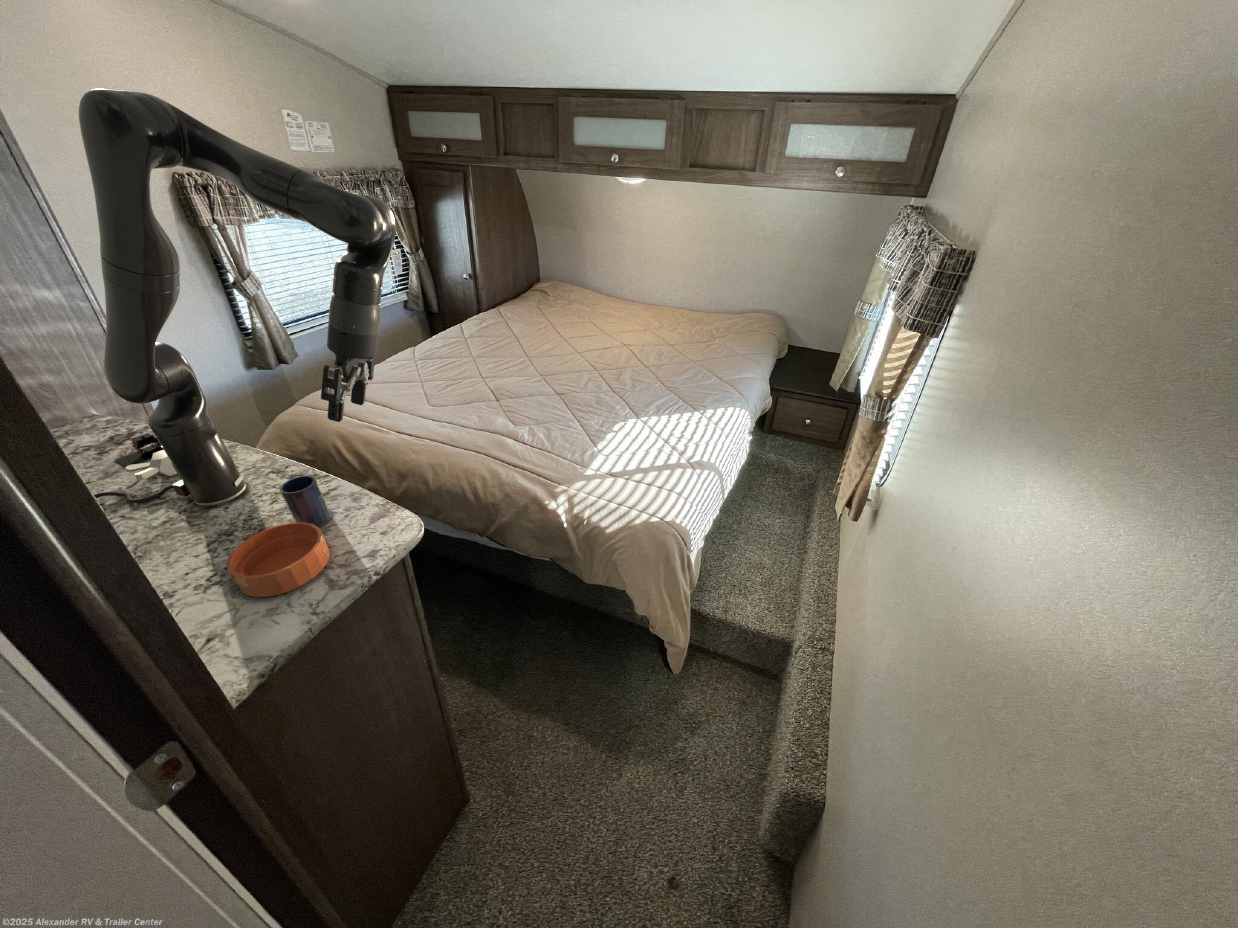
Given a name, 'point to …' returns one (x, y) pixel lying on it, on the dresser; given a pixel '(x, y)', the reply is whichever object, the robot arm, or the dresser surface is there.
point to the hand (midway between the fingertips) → (346, 411)
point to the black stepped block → (141, 450)
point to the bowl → (278, 559)
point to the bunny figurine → (153, 466)
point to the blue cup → (305, 500)
